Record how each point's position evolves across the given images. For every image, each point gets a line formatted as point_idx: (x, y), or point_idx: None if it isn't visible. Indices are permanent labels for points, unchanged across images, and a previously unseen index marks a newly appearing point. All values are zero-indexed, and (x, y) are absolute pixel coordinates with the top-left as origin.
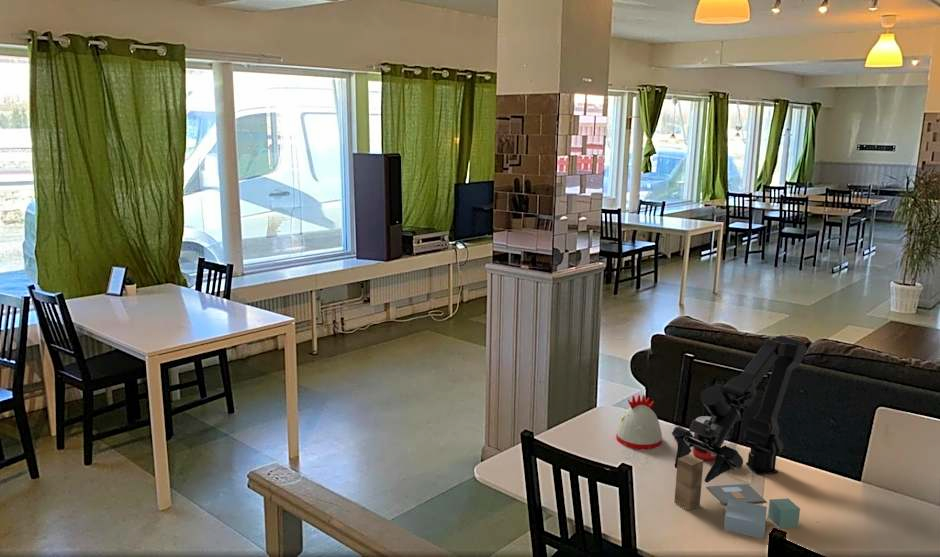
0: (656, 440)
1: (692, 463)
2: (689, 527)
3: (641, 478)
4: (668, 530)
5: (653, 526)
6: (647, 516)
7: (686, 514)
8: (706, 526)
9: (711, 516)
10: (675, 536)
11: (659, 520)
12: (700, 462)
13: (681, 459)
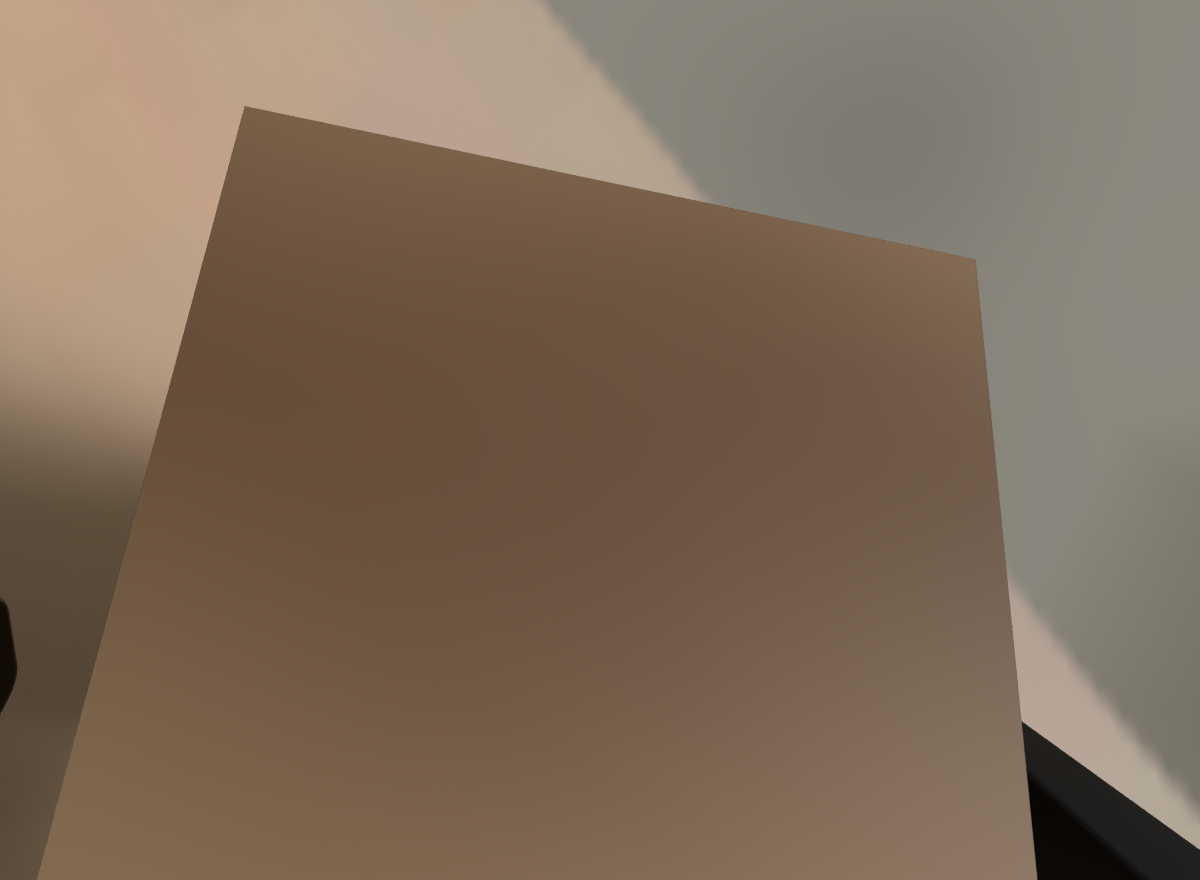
0: None
1: (332, 260)
2: (176, 220)
3: (1140, 760)
4: (321, 52)
5: (463, 34)
6: (602, 141)
7: None
8: (13, 365)
9: (57, 632)
10: (213, 3)
11: (484, 149)
12: (86, 768)
13: (860, 297)
